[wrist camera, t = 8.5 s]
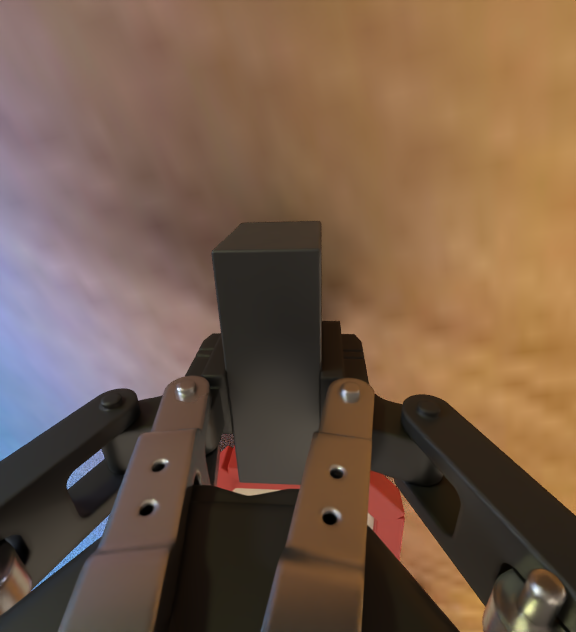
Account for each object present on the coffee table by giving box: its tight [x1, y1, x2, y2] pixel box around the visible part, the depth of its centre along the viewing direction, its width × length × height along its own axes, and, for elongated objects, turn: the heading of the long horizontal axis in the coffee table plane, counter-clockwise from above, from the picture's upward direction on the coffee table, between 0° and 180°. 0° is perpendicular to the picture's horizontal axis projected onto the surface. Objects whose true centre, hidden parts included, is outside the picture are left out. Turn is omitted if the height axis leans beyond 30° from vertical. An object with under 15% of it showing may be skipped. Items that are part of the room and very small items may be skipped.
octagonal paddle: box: [212, 221, 405, 560], centre depth 16 cm, size 22×10×4 cm, turn 2°
